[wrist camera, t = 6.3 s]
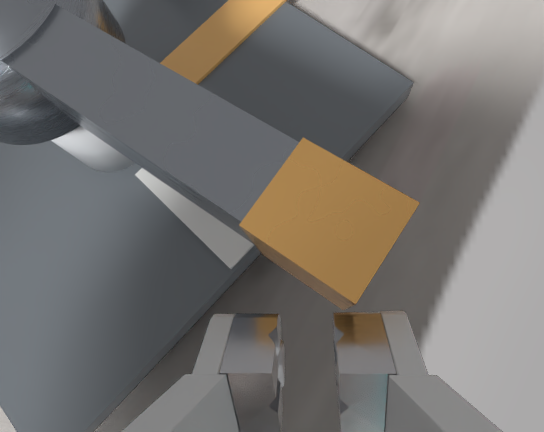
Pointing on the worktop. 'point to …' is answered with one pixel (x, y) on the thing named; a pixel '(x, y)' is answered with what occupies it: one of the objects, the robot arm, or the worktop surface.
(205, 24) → the board
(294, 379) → the worktop surface
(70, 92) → the grey sphere and rod
